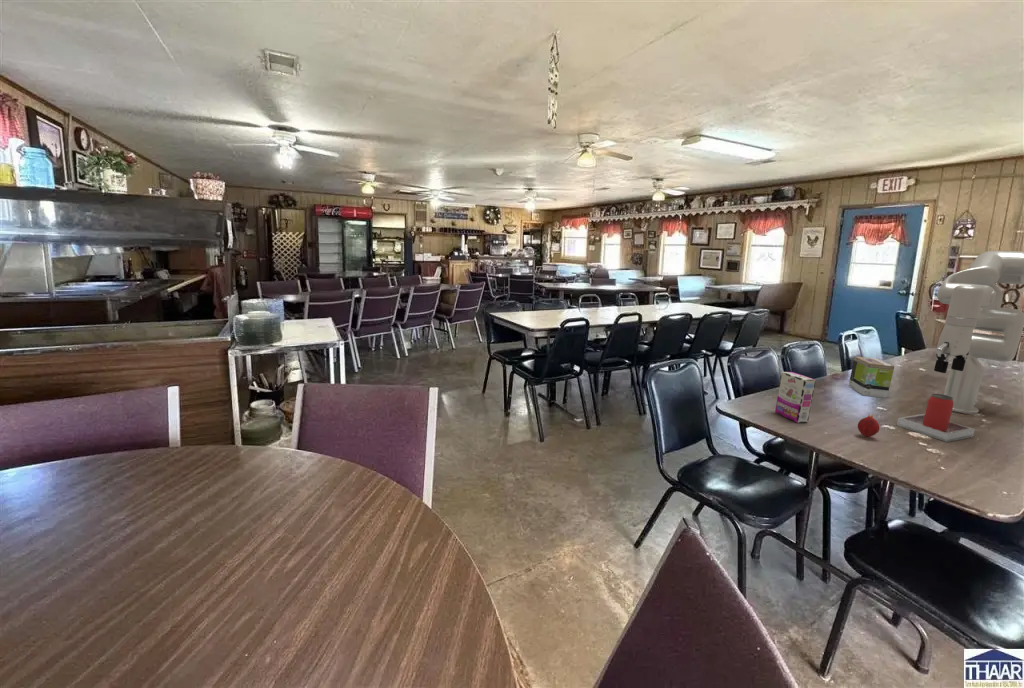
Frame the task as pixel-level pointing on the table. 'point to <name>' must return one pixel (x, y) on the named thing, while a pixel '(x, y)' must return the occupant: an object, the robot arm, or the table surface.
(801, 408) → the candy bar box
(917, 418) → the rimmed tray
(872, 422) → the onion
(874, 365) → the tea box
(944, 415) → the beer can
